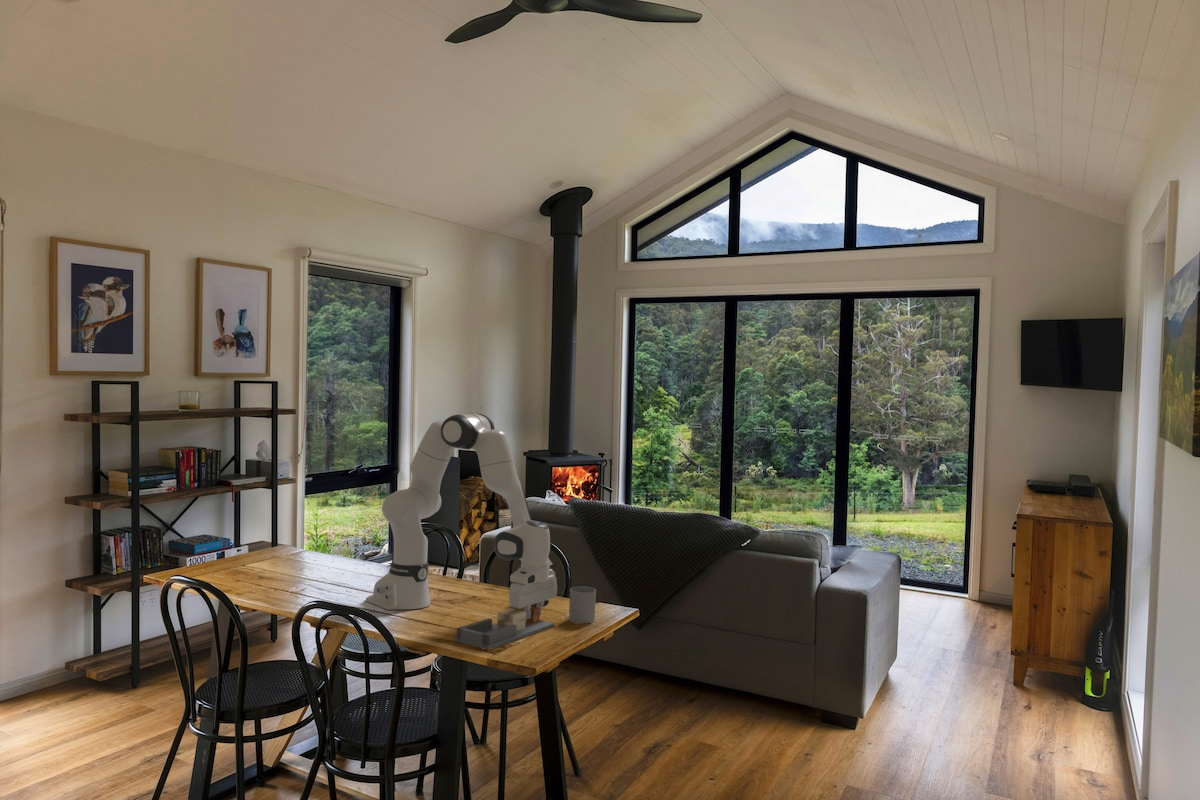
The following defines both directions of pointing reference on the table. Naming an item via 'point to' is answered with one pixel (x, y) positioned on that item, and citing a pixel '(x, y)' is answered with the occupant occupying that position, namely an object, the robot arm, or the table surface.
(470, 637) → the grey slider tray
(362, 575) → the table surface
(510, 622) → the block
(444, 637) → the table surface
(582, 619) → the cup
